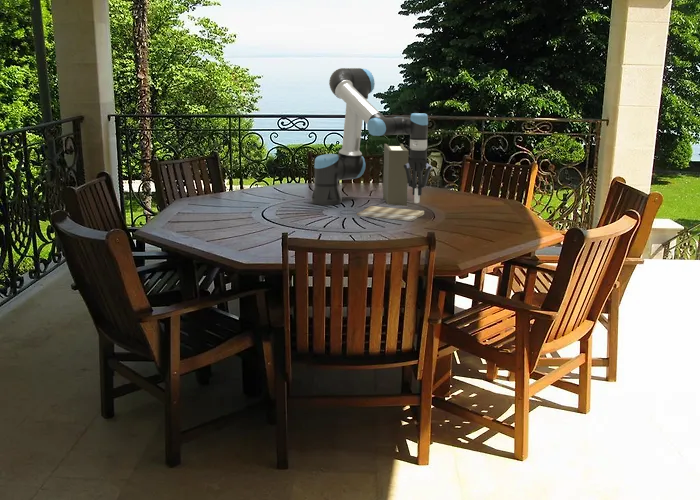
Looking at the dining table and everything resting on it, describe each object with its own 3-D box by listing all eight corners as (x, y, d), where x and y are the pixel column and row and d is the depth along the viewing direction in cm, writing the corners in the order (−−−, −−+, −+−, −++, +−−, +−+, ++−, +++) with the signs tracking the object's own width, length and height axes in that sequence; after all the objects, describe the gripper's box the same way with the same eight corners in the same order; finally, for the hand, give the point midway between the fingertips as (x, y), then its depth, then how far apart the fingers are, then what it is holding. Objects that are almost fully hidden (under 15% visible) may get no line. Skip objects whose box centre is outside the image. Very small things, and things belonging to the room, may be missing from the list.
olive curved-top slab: (406, 207, 321) (408, 149, 313) (387, 207, 320) (389, 149, 313) (401, 198, 342) (402, 143, 334) (382, 198, 341) (384, 143, 333)
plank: (363, 214, 301) (363, 210, 300) (370, 209, 309) (370, 205, 308) (417, 219, 290) (417, 215, 290) (424, 214, 298) (424, 210, 298)
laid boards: (356, 217, 295) (356, 213, 294) (362, 214, 300) (362, 210, 299) (412, 222, 284) (412, 218, 284) (416, 220, 289) (416, 216, 289)
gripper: (401, 149, 289) (400, 202, 295) (429, 150, 284) (428, 205, 290) (407, 147, 296) (405, 200, 302) (435, 149, 291) (433, 202, 296)
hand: (416, 202), depth 296 cm, fingers closed
